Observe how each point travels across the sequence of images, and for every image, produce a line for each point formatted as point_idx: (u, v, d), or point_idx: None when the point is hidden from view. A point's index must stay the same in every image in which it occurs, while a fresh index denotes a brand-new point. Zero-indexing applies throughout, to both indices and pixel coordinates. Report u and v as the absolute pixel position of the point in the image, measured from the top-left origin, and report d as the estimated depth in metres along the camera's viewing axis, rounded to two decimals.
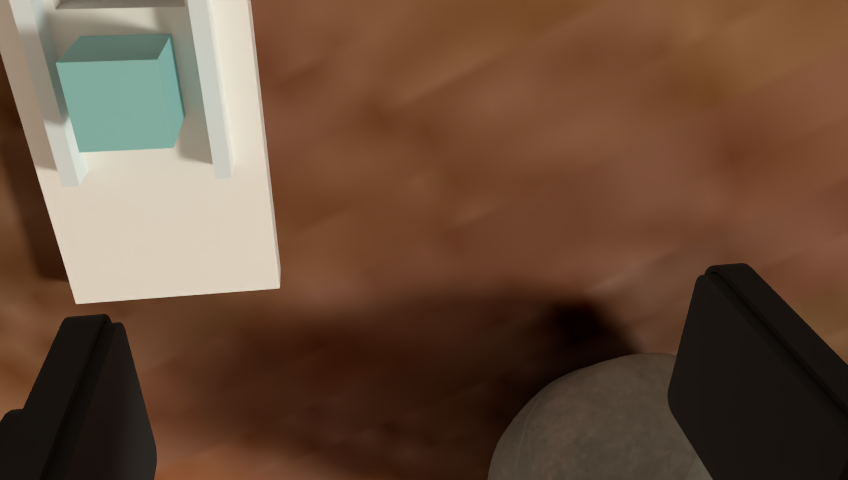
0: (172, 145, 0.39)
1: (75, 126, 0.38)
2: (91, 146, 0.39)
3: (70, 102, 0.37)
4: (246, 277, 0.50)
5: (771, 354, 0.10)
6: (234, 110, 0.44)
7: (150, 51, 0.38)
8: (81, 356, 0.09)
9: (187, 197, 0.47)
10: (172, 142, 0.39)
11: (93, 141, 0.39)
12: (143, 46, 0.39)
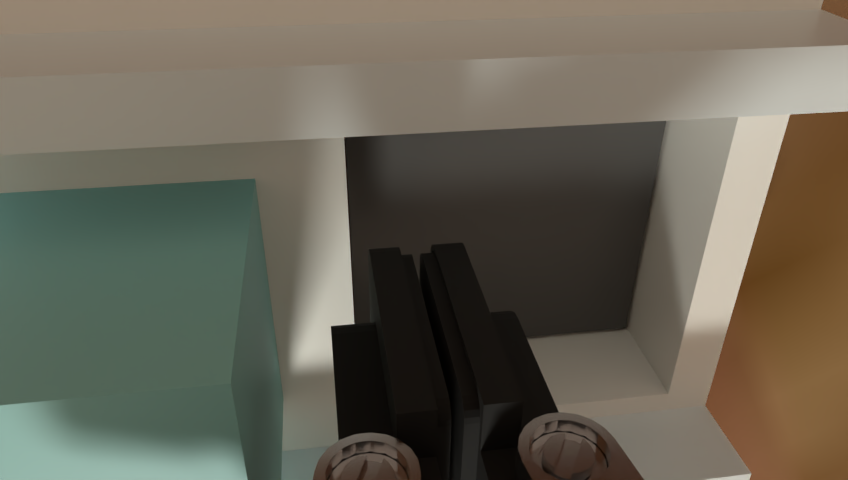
0: None
1: None
2: None
3: (25, 419, 0.07)
4: None
5: (442, 326, 0.10)
6: None
7: None
8: (402, 277, 0.11)
9: None
10: None
11: None
12: (273, 451, 0.12)
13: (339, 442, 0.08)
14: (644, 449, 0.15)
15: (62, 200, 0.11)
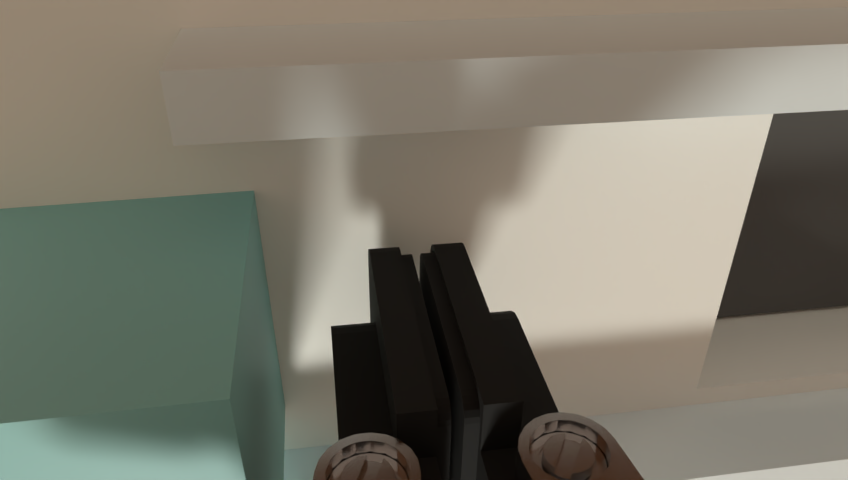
0: None
1: None
2: None
3: (28, 436, 0.08)
4: None
5: (442, 326, 0.10)
6: None
7: None
8: (402, 277, 0.11)
9: None
10: None
11: None
12: (276, 460, 0.12)
13: (339, 442, 0.08)
14: None
15: (63, 215, 0.11)
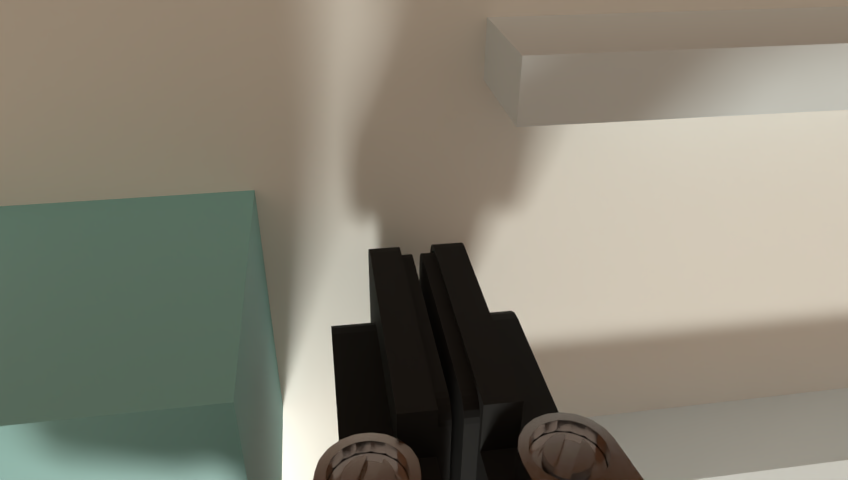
0: None
1: None
2: None
3: (29, 439, 0.07)
4: None
5: (442, 326, 0.10)
6: None
7: None
8: (402, 277, 0.11)
9: None
10: None
11: None
12: (275, 461, 0.12)
13: (339, 442, 0.08)
14: None
15: (61, 213, 0.11)
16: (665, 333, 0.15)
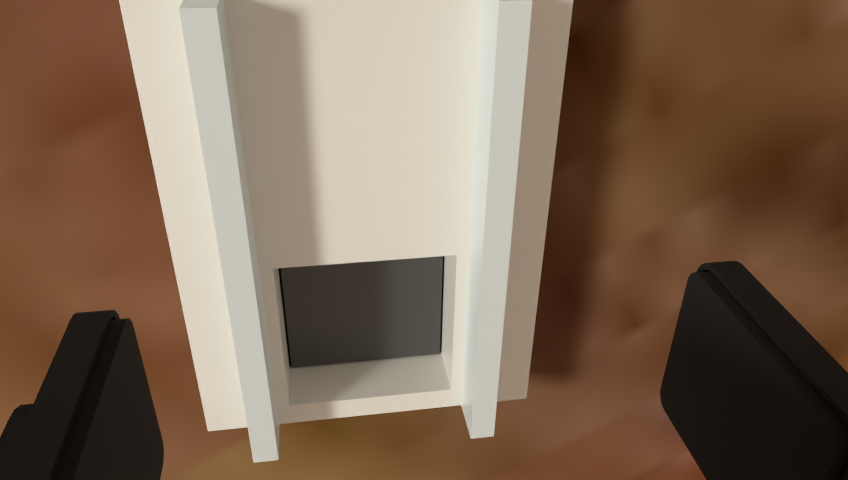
0: None
1: None
2: None
3: None
4: None
5: (761, 351, 0.10)
6: (191, 109, 0.23)
7: None
8: (90, 351, 0.09)
9: None
10: None
11: None
12: None
13: None
14: (274, 408, 0.29)
15: None
16: (308, 122, 0.24)
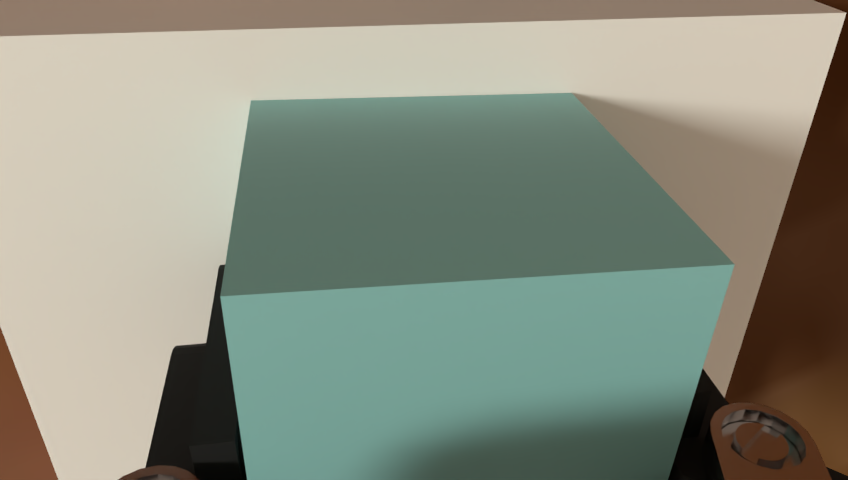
0: (227, 306, 0.06)
1: (685, 380, 0.08)
2: (661, 293, 0.07)
3: (656, 464, 0.09)
4: (88, 114, 0.10)
5: None
6: None
7: None
8: None
9: None
10: None
11: (639, 319, 0.07)
12: None
13: (126, 476, 0.08)
14: None
15: None
16: None
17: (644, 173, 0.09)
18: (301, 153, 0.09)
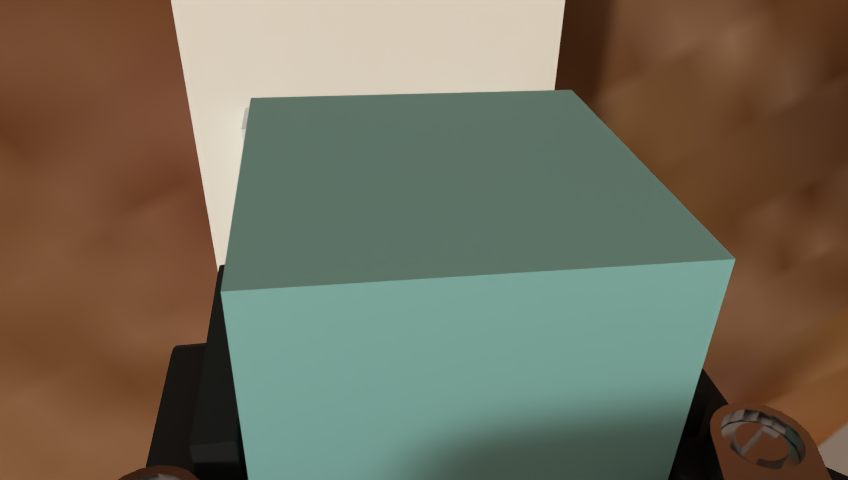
0: (227, 301, 0.06)
1: (686, 375, 0.08)
2: (662, 288, 0.07)
3: (657, 460, 0.09)
4: None
5: None
6: None
7: None
8: None
9: (328, 47, 0.26)
10: None
11: (640, 314, 0.07)
12: None
13: (126, 476, 0.08)
14: None
15: None
16: None
17: (645, 169, 0.09)
18: (301, 149, 0.09)
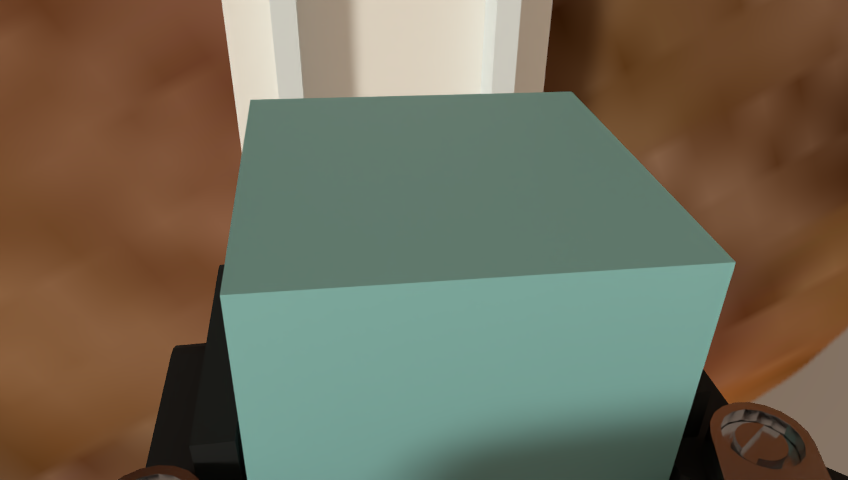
0: (227, 305, 0.06)
1: (686, 379, 0.08)
2: (661, 291, 0.07)
3: (657, 463, 0.09)
4: None
5: None
6: (266, 60, 0.30)
7: None
8: None
9: None
10: (224, 322, 0.07)
11: (640, 317, 0.07)
12: None
13: (126, 476, 0.08)
14: None
15: None
16: (353, 71, 0.31)
17: (646, 171, 0.09)
18: (301, 151, 0.09)
